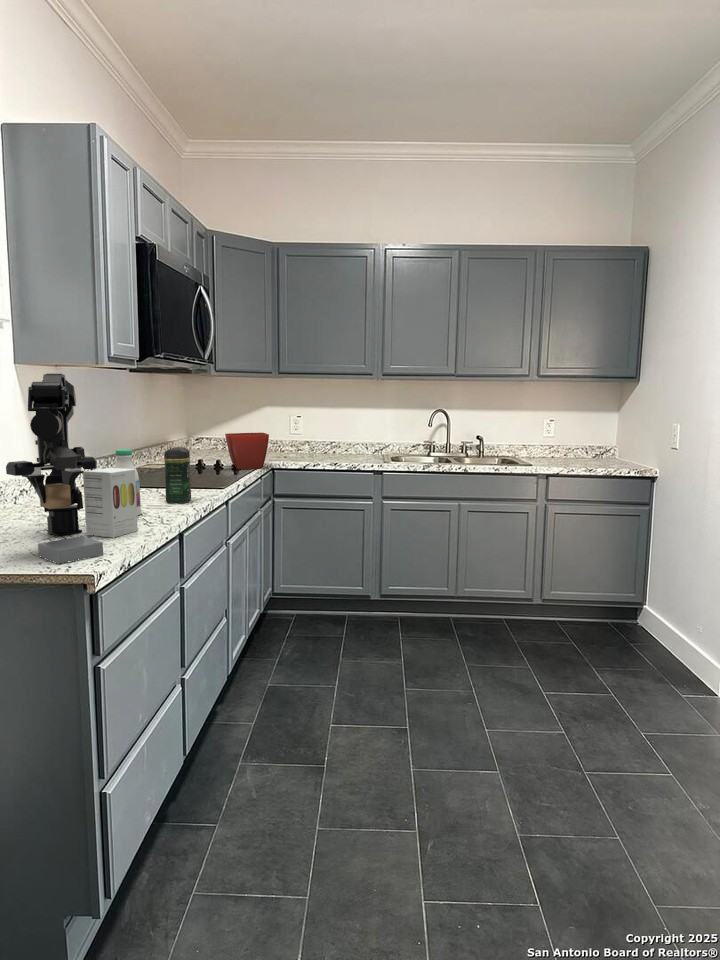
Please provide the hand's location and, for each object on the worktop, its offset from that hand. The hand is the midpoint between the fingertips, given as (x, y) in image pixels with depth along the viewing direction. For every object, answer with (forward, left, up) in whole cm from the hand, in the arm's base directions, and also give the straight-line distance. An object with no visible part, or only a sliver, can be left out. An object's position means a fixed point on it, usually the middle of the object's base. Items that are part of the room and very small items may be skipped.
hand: (55, 501), depth 148 cm
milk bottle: (-31, -24, -11) cm, 41 cm away
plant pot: (-133, -90, -11) cm, 161 cm away
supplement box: (-16, -5, -11) cm, 20 cm away
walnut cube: (0, 0, -1) cm, 1 cm away
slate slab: (+2, +10, -11) cm, 15 cm away
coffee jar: (-55, -33, -11) cm, 65 cm away
